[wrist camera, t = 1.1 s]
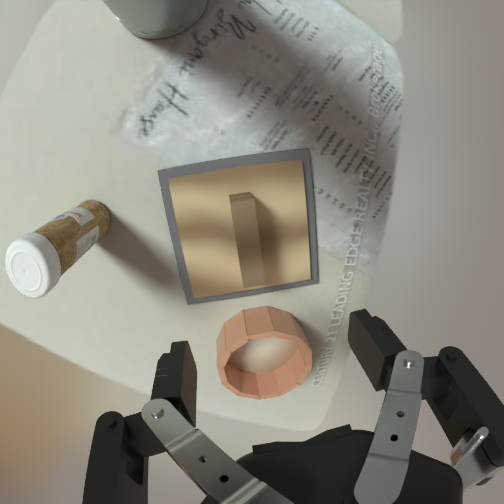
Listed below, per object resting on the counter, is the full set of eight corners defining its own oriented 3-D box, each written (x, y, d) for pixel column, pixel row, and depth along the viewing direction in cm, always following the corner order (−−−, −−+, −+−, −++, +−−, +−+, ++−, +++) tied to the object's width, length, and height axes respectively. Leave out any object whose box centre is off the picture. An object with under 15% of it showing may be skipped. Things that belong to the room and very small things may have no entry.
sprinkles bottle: (96, 190, 27) (24, 227, 14) (118, 226, 28) (60, 284, 16) (68, 213, 27) (-5, 260, 15) (89, 247, 29) (28, 309, 16)
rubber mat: (158, 170, 27) (157, 171, 26) (307, 148, 28) (308, 148, 27) (188, 302, 33) (187, 304, 32) (316, 280, 33) (317, 282, 33)
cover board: (169, 178, 27) (160, 185, 23) (300, 159, 28) (314, 162, 23) (194, 295, 32) (191, 319, 27) (309, 276, 32) (322, 296, 28)
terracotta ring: (210, 315, 33) (209, 341, 29) (299, 300, 34) (311, 323, 29) (226, 377, 37) (228, 404, 33) (302, 363, 38) (311, 388, 33)
